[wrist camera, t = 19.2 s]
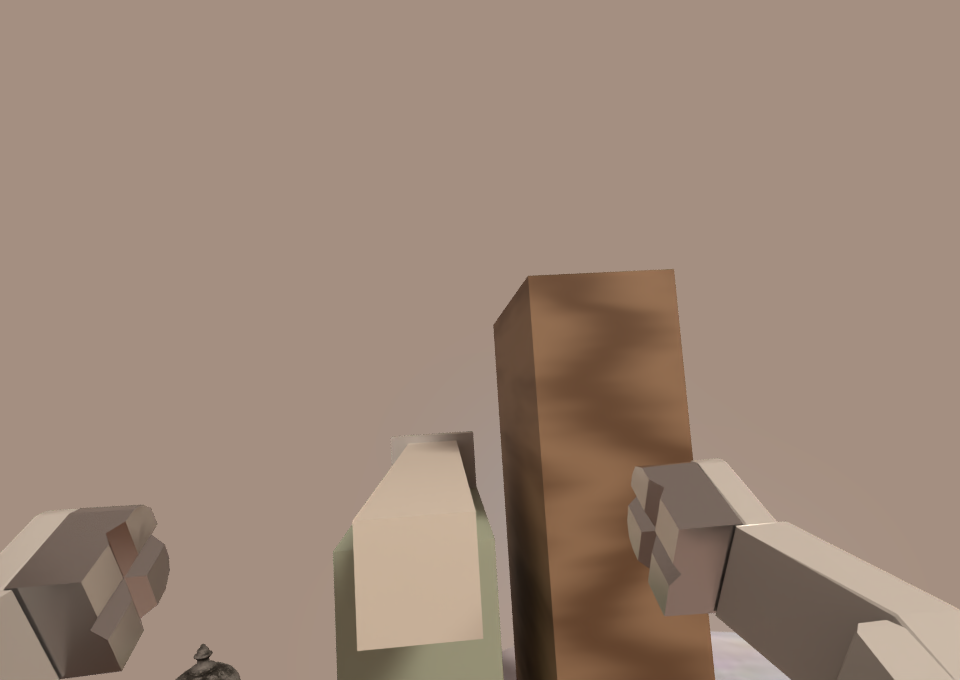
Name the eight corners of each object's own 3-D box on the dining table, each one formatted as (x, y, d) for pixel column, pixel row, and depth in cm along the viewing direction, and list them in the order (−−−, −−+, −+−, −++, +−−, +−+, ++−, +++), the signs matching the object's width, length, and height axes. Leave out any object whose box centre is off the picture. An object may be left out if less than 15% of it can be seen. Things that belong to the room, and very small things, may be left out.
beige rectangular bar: (311, 655, 12) (306, 506, 12) (394, 491, 31) (392, 436, 32) (527, 634, 12) (517, 490, 12) (475, 484, 32) (472, 431, 32)
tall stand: (580, 1003, 19) (527, 276, 21) (520, 732, 33) (493, 324, 36) (744, 978, 19) (673, 269, 22) (613, 722, 34) (580, 320, 36)
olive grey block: (349, 1037, 18) (333, 551, 20) (392, 746, 33) (381, 483, 34) (524, 1012, 18) (494, 538, 20) (488, 736, 33) (473, 477, 35)
